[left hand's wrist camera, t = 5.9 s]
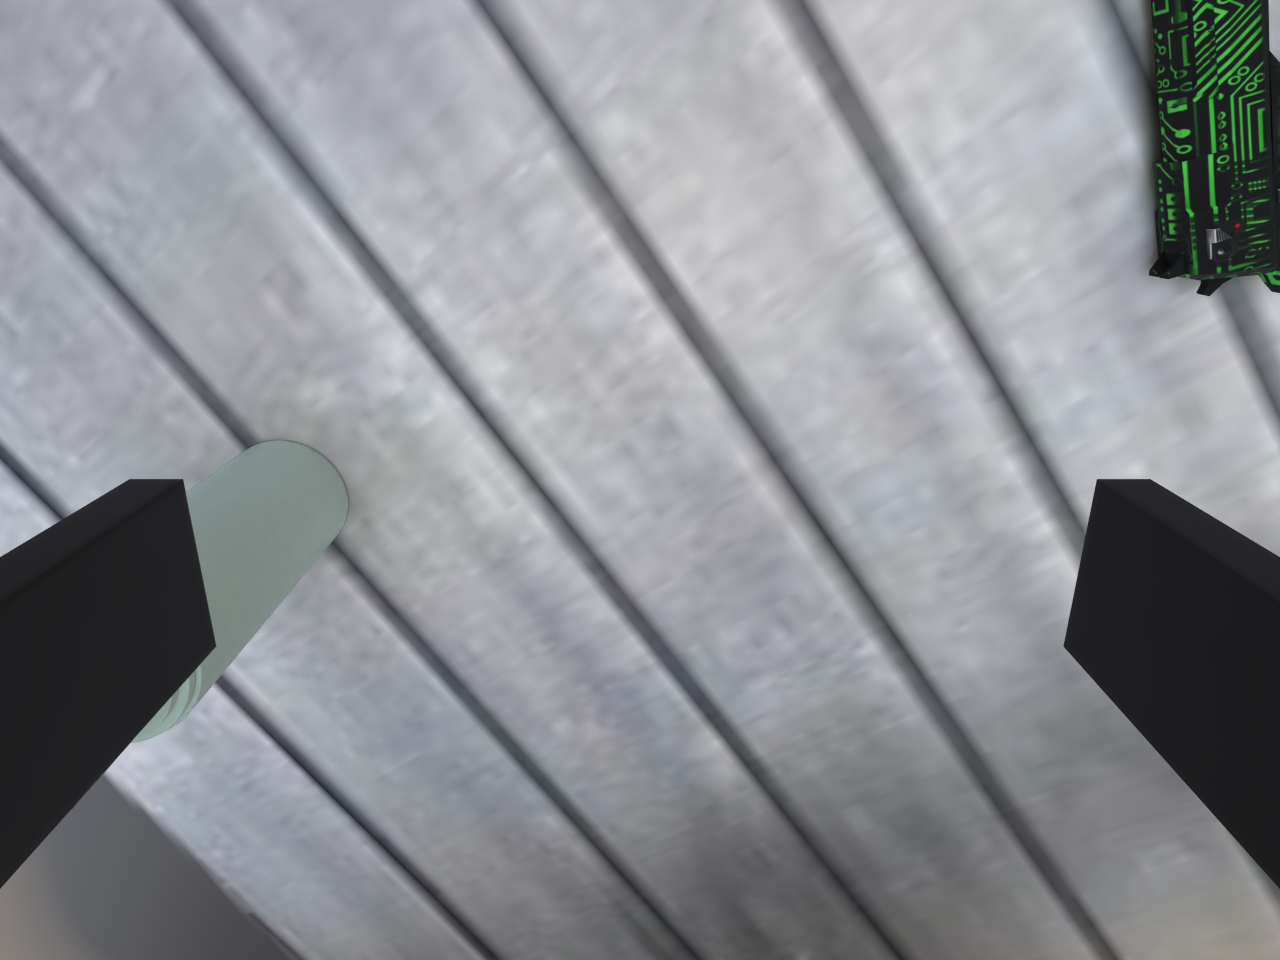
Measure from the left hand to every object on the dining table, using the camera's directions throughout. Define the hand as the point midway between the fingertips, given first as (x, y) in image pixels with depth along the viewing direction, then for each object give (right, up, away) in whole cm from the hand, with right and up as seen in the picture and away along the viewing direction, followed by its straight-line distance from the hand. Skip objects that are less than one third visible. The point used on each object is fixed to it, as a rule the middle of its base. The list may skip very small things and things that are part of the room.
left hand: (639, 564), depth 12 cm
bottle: (-18, 0, +30) cm, 35 cm away
